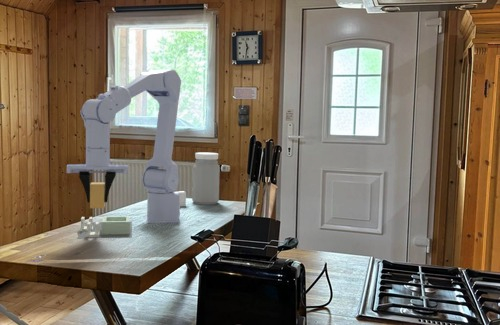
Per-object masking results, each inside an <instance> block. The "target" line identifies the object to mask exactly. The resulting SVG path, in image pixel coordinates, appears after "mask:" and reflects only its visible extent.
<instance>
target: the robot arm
mask: <svg viewBox="0 0 500 325" xmlns="http://www.w3.org/2000/svg"><path fill="white" fill-rule="evenodd" d="M181 85H182V79H181V77H180V75H179V73H178V72H177V71H176V70H175V69H172V68H171V69H146V70H144V71H142V72H140V74H139V75H138V76H136V78H134V79H133V80H132V81H130V82H129V83H128V84H126V85H124V86H121V85H111V86H110V89H109V90H108V91H106V92H105V93H99V94H98V95H97V96H98V97H96V98H95V99H93V98H91V99H88V100H86V101H85V102H84V103H83V105H82V107H81V109H80V111H79V112H80V113H79V114H80V116H81V119H82V120H83V127H84V128H85V163H84V164H81V163H80V164H67V165H66V174H78V178H79V180H80V182H81V184H82V187H83V188H84V192H85V197H86V201H87V202H86V203H90V184H91V180H92V179H91V177H92V174H104V182H105V196H104V202H105V203H108V199H109V193H110V189H111V187H112V184H113V182H114V181H115V178H116V175H117V174H126V175H127V174H128V172H129V170H128V167H129V166H128V164H111V163H110V160H111V158H110V157H111V156H110V155H111V154H110V151H111V150H110V149H111V146H110V144H111V142H110V141H111V138H110V136H111V123H112V122H113V121H114V120H115V118H116V115H117V114H118V113H119V112H121V111H122V110H124V109H125V108H127V107H128V106H129V105H131V102H132V98H134V97H136V96H138V95H140V94H142V93H143V92H146V93H148V94H149V95H150V96H151V97H152V98H153V100H156V101H157V103H158V104H159V106H158V114H157V120H156V121H157V122H156V129H155V130H156V131H155V138H154V147H153V153H152V154H153V155H152V157H151V158H150V159H149V160H148V161H147V162H145V166H144V170H143V172H142V174H141V183H142V186H143V187H144V188H145V191H146V192H147V199H146V200H147V204H146V206H147V208H146V210H147V211H146V216H145V217H144V219H145V223H150V224H151V223H153V224H154V223H180V217H181V212H180V207H181V206H180V195H179V192H176V191H175V190H177V189H178V185H179V182H180V177H179V166H178V165H177V164H176V163H175V161H173V159H172V158H173V150H174V144H175V143H174V142H175V134H176V133H175V132H176V126H177V119H178V118H177V117H178V108H179V103H180V102H179V100H180V94H181ZM163 168H164V169H163Z"/></svg>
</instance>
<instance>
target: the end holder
mask: <svg viewBox="0 0 500 325" xmlns="http://www.w3.org/2000/svg"><path fill="white" fill-rule="evenodd" d="M101 222H102V230H101V235H104V234H130V222H131V216H130V215H129V216H128V215H127V216H126V215H124V216H122V215H121V216H117V215H115V216H114V215H112V216H111V215H110V216H107V215H106V216H105V215H104V216H102V220H101Z"/></svg>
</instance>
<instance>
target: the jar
mask: <svg viewBox="0 0 500 325" xmlns="http://www.w3.org/2000/svg"><path fill="white" fill-rule="evenodd" d="M194 156H195V159H196V160H195V161H194V162H195V163H194V165H193V167H192V191H191V192H192V194H191V195H192V196H191V200H192V202H193V203H194V204H196V205H201V206H213V205H217V203H218V202H219V200H220V172H221V171H220V170H221V168H220V165H219V161H218V159H219V153H217V152H210V151H209V152H207V151H206V152H202V151H201V152H200V151H199V152H195V153H194Z"/></svg>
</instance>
